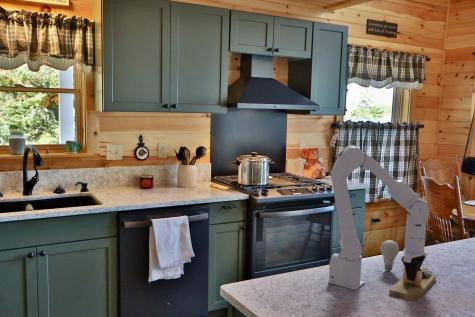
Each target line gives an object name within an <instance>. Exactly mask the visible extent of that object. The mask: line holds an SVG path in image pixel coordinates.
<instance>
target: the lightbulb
mask: <svg viewBox="0 0 475 317" xmlns="http://www.w3.org/2000/svg"><path fill="white" fill-rule="evenodd" d="M379 248H380V253H381V255H382V257H383V263H384V270H385V271H386V272H390V271H393V265H394V264H395V263H394V262H395V259H396V258H397V256H398V254H399V252H400V247H399V245H398V243H397V242H396V241H394V240H391V239H386V240H385V241H383V242H382V243H381V244H380V247H379Z"/></svg>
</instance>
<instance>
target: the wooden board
mask: <svg viewBox="0 0 475 317" xmlns="http://www.w3.org/2000/svg"><path fill="white" fill-rule="evenodd" d="M425 274H426V273H425ZM436 277H437V276H436V275H434V274H430V275H429V276H428V278H426V277H422V281H421V285H420V286H416V285H415V286H414V285H410V284H407V283H403V277H402V278H401V279H399V280H398V281H397V282H396V283H395V284H394V285H393V286H392V287H390V289H389V291H388V295H390V296H393V297H397V298H402V299H405V300H408V301H413V302H415V303H417V301H418V300H419V299H420V298H422V296H423V295H424V294H425V292H427V290H428V289H429V288H430V287H431V286H432V284H434V282H435V281H436V280H437V278H436Z"/></svg>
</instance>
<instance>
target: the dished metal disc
mask: <svg viewBox="0 0 475 317" xmlns="http://www.w3.org/2000/svg"><path fill="white" fill-rule="evenodd" d="M420 269H422V274H425V273H427V272H428V271H429V268H428V267H425V266H422V265H421V268H420Z"/></svg>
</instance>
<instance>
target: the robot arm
mask: <svg viewBox="0 0 475 317" xmlns="http://www.w3.org/2000/svg"><path fill="white" fill-rule="evenodd" d="M358 168H360V169H361V170H365V171H370V172H371V173H372V174H373V175H374V176H375V177H377V179H379V180H380V181H381V182H382V183H383V184H384V185H385V186H387V193H388V194H389V196H390V197H392V198H393V200H394V201H396V202H397V203H398V205H400V206H401V207H402V208H404V209H405V211H406V212H407V214H406V222H405V234H404V235H405V236H404V248H403V256H401V262H402V264H403V266H404V267H405V270H406V276H407V280H410V281H415V278H416V274H417V270H418V268H419V269H420V268H421V266H422V265H423V263H424V261H425V259H426V257H427V256H429V252H428V251H426V250H425V245H426V230H427V217H428V216H429V215H430V211H431V210H430V208H429V205H428V203H427V202H426V201H424V199H422V197H421V194H419V193H418V192H415V191H414V190H413V189H412V188H411V187H410V186H409V185H410V184H409V183H408V182H407V181H404V180H402V179H395V178H394V177H393V176H392V175H391V174H390V173H389V172H388V171H387V170H386V169H385V168H384V167H383V166H382V165H381V164H380V163H379V162H378V161H377V160H375V159H374V158H373V157H372V156H370V155H369V154H367V153H366V152H364V151H363V150H362V149H360V148H359V147H357V146H356V145H353V144H350V145H347V146H345V147H344V148H343V149H342V150H341V151H340V152H339V153H338V154H337V158H336V160H335V162H334V164H333V166H332V169H331V171H330V178H331V184H332V188H333V190H332V191H333V195H334V201H335V207H336V211H337V217H338V224H339V231H340V238H339V240H338V243H339V246H340V251H339V252H338V253H337V252H336V253H333V254H332V255H331V257H330V260H329V266H328V267H329V270H328V280H327V283H328V284H332V285H336V286H340V287H344V288H347V289H350V290H354V291H355V290H358V289H359V288H360V287H361V286H362V285H364V284H365V282H366V281H365V280H361V278H362V277H361V275H362V274H361V273H362V258H363V257H362V254H363V247H362V244H361V242H360V239H359V237H358V235H357V231H356V227H355V221H354V215H353V210H352V209H353V208H352V202H351V198H350V192H349V188H348V187H349V186H348V181H347V179H348V177H349V176H350V175H351V174H352V172H353V171H355V170H356V169H358Z"/></svg>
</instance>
